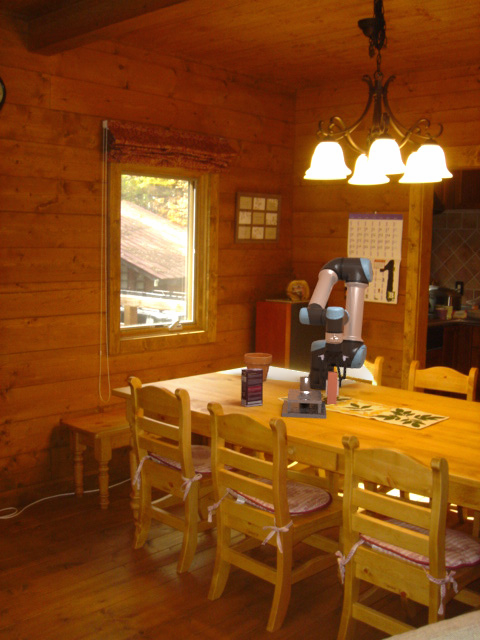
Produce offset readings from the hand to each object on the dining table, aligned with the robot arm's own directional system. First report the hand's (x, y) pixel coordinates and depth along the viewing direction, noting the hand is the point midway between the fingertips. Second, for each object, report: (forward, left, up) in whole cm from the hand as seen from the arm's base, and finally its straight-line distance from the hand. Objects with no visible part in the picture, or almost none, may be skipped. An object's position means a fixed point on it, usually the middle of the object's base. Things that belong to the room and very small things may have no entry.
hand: (332, 394), depth 322 cm
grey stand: (+10, -17, -4) cm, 20 cm away
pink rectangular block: (0, 0, -4) cm, 4 cm away
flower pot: (-57, -16, -4) cm, 59 cm away
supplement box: (-4, -36, -4) cm, 37 cm away
